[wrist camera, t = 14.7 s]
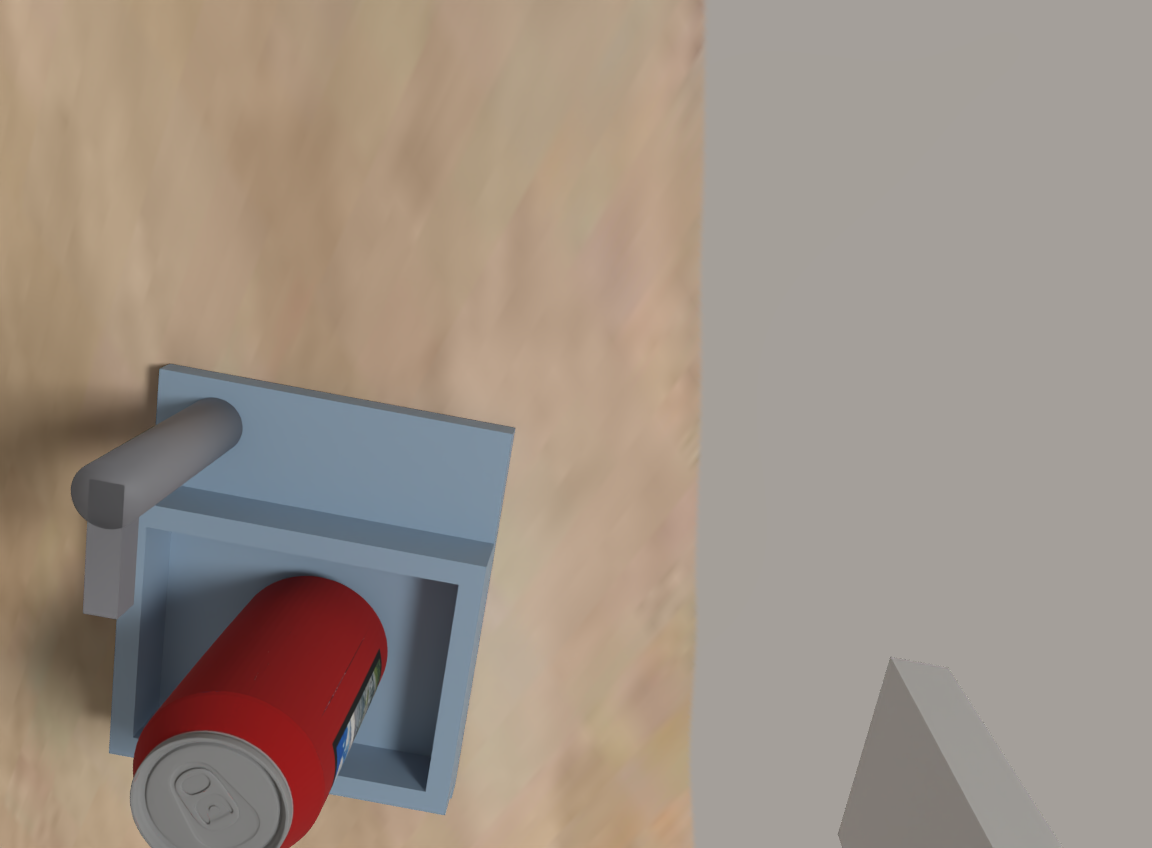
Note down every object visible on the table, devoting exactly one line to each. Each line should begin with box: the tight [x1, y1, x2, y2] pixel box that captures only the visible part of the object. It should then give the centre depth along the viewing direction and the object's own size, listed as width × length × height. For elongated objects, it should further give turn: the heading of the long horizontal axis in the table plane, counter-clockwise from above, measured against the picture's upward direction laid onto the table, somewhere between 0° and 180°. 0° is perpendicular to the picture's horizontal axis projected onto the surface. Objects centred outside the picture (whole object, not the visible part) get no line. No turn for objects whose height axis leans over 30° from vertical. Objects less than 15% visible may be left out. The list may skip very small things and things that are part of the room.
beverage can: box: [130, 576, 388, 848], centre depth 38 cm, size 7×7×12 cm
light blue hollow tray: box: [71, 364, 515, 815], centre depth 39 cm, size 18×15×10 cm
